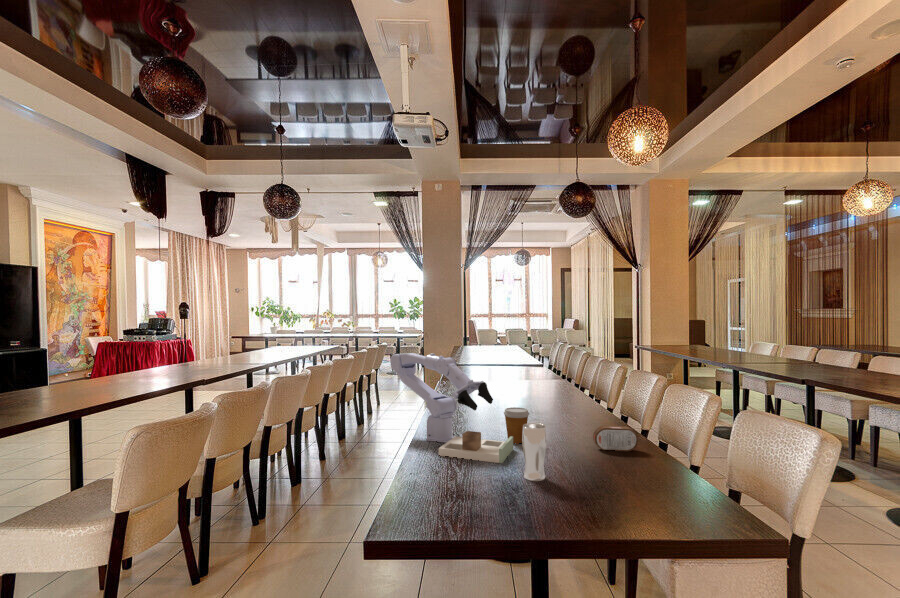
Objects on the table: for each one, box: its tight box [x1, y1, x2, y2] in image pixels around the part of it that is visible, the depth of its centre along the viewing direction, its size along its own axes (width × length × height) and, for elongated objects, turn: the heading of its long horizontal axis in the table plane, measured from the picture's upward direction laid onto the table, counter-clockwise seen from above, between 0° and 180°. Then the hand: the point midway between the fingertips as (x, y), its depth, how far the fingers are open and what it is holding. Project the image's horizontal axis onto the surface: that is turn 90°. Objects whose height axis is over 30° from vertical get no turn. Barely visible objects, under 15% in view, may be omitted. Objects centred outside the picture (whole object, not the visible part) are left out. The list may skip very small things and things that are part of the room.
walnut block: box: [461, 430, 482, 451], centre depth 152 cm, size 5×5×5 cm
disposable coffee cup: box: [503, 407, 530, 445], centre depth 169 cm, size 10×10×12 cm
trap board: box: [438, 436, 514, 464], centre depth 156 cm, size 22×16×4 cm
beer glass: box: [521, 422, 547, 482], centre depth 132 cm, size 7×7×15 cm
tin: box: [592, 425, 639, 452], centre depth 159 cm, size 15×3×8 cm, turn 84°
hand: (484, 404), depth 158 cm, fingers open, 7 cm apart
